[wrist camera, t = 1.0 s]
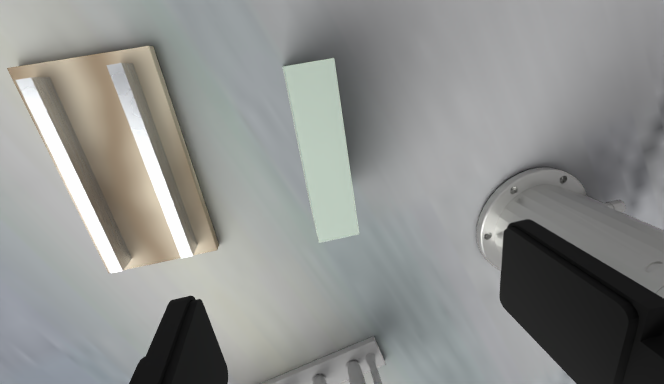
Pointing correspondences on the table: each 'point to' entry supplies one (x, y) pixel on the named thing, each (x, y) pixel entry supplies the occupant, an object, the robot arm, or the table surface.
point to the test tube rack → (338, 367)
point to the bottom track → (120, 154)
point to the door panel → (322, 147)
